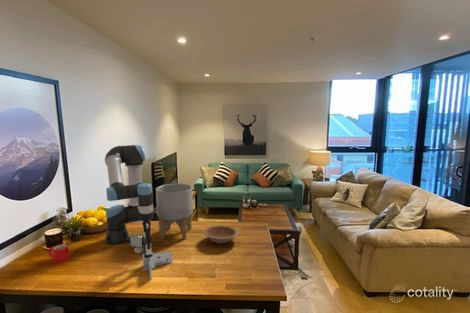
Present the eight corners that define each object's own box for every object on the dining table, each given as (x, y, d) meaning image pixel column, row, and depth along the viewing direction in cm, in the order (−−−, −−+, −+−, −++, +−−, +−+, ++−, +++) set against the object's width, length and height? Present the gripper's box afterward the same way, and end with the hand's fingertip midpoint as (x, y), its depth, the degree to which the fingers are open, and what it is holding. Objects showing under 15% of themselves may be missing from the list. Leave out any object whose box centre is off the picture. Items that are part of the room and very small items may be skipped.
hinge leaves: (143, 265, 149) (142, 253, 147) (171, 259, 155) (170, 248, 154) (145, 281, 134) (144, 268, 133) (176, 274, 140) (175, 262, 139)
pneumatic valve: (145, 254, 160) (144, 236, 158) (128, 253, 162) (127, 234, 160) (150, 250, 165) (149, 232, 163) (133, 248, 168) (132, 231, 166)
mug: (53, 255, 160) (52, 243, 159) (72, 256, 159) (71, 243, 158) (43, 262, 152) (42, 249, 151) (63, 263, 151) (61, 250, 150)
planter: (181, 223, 207) (180, 181, 201) (200, 234, 188) (199, 188, 183) (152, 233, 190) (149, 187, 185) (168, 245, 172) (166, 195, 167)
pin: (144, 265, 148) (143, 237, 145) (152, 264, 150) (150, 236, 147) (145, 269, 144) (143, 240, 142) (152, 268, 146) (151, 239, 143)
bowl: (245, 243, 174) (245, 232, 173) (214, 253, 161) (214, 241, 160) (226, 230, 194) (226, 220, 192) (197, 239, 180) (197, 228, 179)
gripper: (137, 205, 152) (139, 239, 155) (139, 221, 129) (142, 260, 133) (150, 204, 155) (152, 237, 158) (155, 218, 132) (157, 257, 135)
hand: (147, 248), depth 145 cm, fingers open, 13 cm apart
